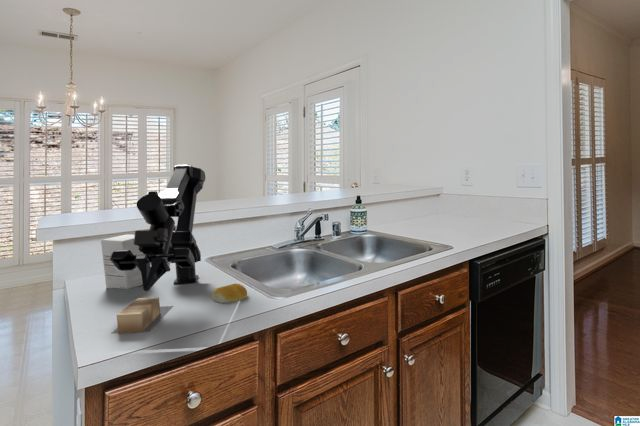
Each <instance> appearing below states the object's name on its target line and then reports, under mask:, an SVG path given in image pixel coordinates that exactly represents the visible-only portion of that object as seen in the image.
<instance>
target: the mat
mask: <svg viewBox="0 0 640 426" xmlns="http://www.w3.org/2000/svg"><path fill="white" fill-rule="evenodd" d="M173 307H174V305H166V306H165V305H163V306H160V314H159V315H158V316H157V317H156V318H155V319H154V320H153V321H152V322H151V323H150V325H149V326H148V327H147V328H146V329H145V330H144V331H143V332H142V333H149V332H150V331H152V329H154V327H156V325H157V324H158V323H159V322H160V321H161V320H162V319H163V318H164V317H165V316H166V315H167V313H168V312H169V311H171V309H173ZM129 333H131V334H132V332H128V334H129ZM111 334H119V333H118V327H117V328H115V329H114V330H113V331H112V332H111Z"/></svg>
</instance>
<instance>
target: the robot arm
mask: <svg viewBox="0 0 640 426" xmlns="http://www.w3.org/2000/svg"><path fill="white" fill-rule="evenodd" d="M204 182H206V173H205V171H204V170H203V169H201V167H194V166H193V165H190V164H177V165H174V166H173V173H172V175H171V176H170V179H169V182H167V186H166V187H165V189H164V190H163V191H161V192H159V193H158V191H157V190H153V191H151V190H150V191H148V193H147V194H145V195H143V196H142V197H141V198H139V199H138V200H137V201H136V207H137V209H138V212H139V213H140V215H141V216H142V217H143V220H144V221H145V223H146V224H148V225H150V226H149V230H148V229H147V230H136V231H134V235H135V237H134V245H138V246H139V251H140V252H143V253H136V255H133V254H132V252H131V251H130V250H116V251H113V253H112V254H111V257H110V260H111V261H112V263H113V264H114V265H115V266H116V267H117V268H118V270H121V271H127V270H133V269H135V268H136V266H137V267H138V269H139V270H140V271H141V275H142V282H143V285H142V288H143V291H144V292H149V291H150V289H152V287H153V286H154V285H155V284H156V283H157V281H158V280H160V279H161V278H162V277H163V276H164V275H165V274H166V273H167V272H170V271H171V264H175V265H174V266H175V276H176V278H175V280H174V281H173V285H175V284H176V285H177V284H188V283H189V284H190V283H196V282H197V281H198V279H199V275H198V274H197V273H196V263H198V262H201V261H202V259H201V255H202V254H201V251H200V249H199V246H198V244H197V240H196V239H195V237H194V234H193V229H194V221H195V220H194V219H195V211H196V205H197V204H196V203H197V196H198V194H199V193H200V192H201V190H203V188H204ZM174 218H177V224H176V222H175V221H176V220H174ZM175 224H176V225H175Z"/></svg>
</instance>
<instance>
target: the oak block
mask: <svg viewBox="0 0 640 426" xmlns="http://www.w3.org/2000/svg"><path fill="white" fill-rule="evenodd" d="M160 305H161V303H160V297H158V296H157V297H156V296H155V297H138V298H136V299H135V300H133V301H132V302H131V303H130V304H129V305H127V306H126V307H125V308H124V309H122V310H121V311H119V312H118V313H117V314H116V321H117V328H118V333H117V334H127V333H128V332H131V333H144V332H143V331H144V330H145V329H146V328H147V327H148V326H149V325H150V323H151V322H152V321H153V320H154V319H155V318H156V317H157V316H158V315H159V314H160V307H161V306H160ZM128 334H129V333H128Z"/></svg>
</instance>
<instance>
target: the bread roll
mask: <svg viewBox="0 0 640 426" xmlns="http://www.w3.org/2000/svg"><path fill="white" fill-rule="evenodd" d="M247 297H248V290H247V288H246V287H245V286H244V285H242V284H241V283H233V284H228V285H225V286H220V287H217V288H216V289H214V290H213V292H212V295H211V299H212V301H214V302H217V303H221V304H226V303H227V304H228V303H234V302H236V301H243V300H245V299H246V298H247Z"/></svg>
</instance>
